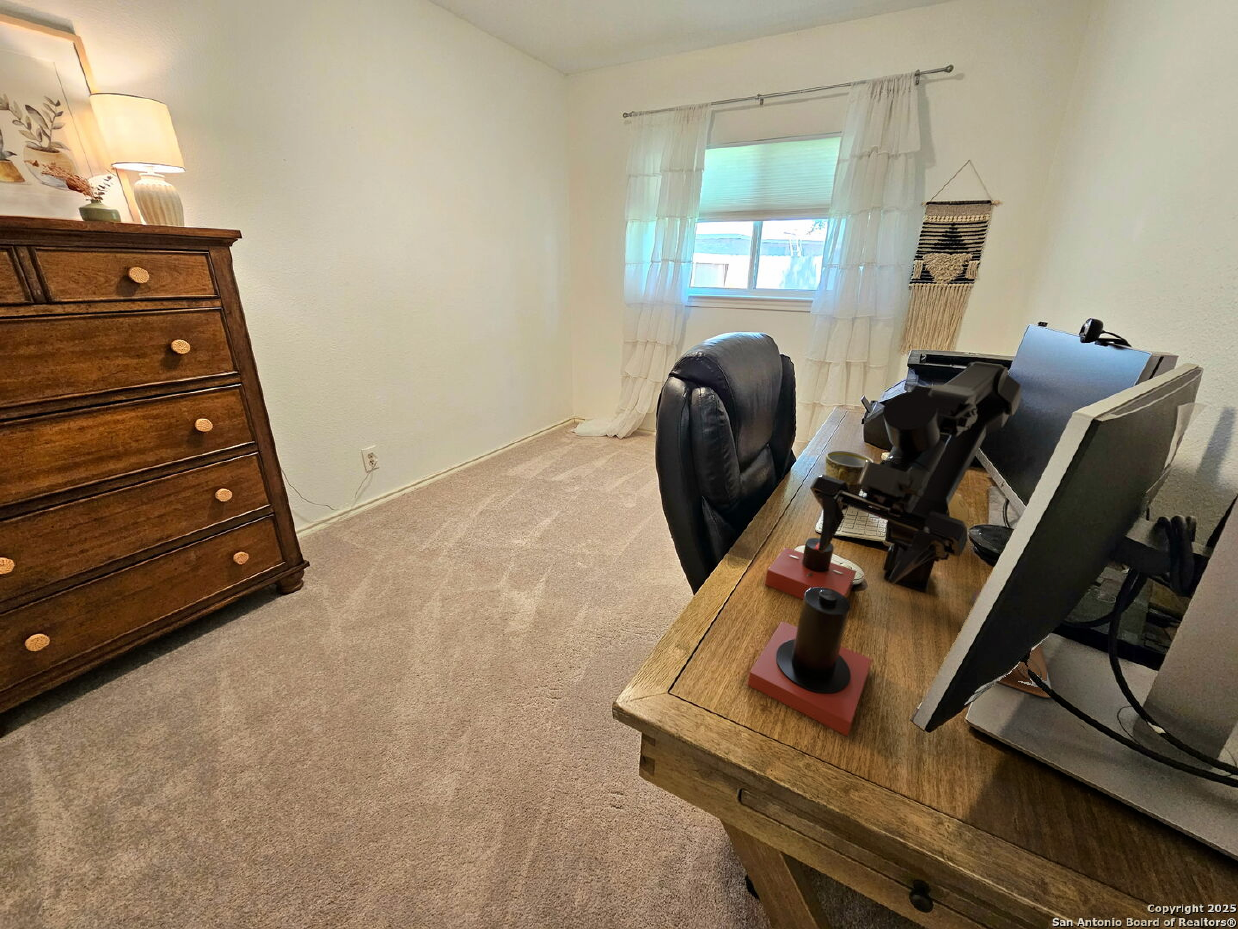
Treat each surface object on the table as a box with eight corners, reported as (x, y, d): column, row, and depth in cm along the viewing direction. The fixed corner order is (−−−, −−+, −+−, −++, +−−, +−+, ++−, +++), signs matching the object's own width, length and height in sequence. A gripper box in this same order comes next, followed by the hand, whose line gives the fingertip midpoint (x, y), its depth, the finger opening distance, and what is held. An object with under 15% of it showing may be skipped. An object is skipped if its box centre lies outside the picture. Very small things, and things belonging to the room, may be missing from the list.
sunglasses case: (1060, 701, 60) (1041, 654, 59) (991, 700, 64) (973, 657, 63) (1035, 619, 74) (1020, 580, 73) (981, 623, 78) (966, 586, 78)
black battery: (838, 661, 62) (856, 592, 58) (828, 686, 58) (846, 615, 54) (798, 643, 65) (812, 576, 61) (785, 666, 61) (799, 597, 57)
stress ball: (893, 525, 102) (905, 482, 98) (928, 518, 105) (940, 476, 101) (936, 549, 93) (951, 503, 89) (972, 541, 96) (988, 496, 92)
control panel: (855, 580, 83) (859, 565, 82) (839, 613, 75) (843, 597, 74) (786, 556, 89) (788, 542, 88) (764, 584, 81) (767, 568, 80)
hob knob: (806, 554, 85) (810, 533, 83) (832, 563, 82) (837, 541, 81) (798, 566, 81) (802, 544, 80) (825, 575, 79) (830, 553, 77)
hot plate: (868, 671, 64) (872, 657, 63) (847, 736, 55) (851, 720, 54) (779, 633, 71) (782, 619, 70) (747, 685, 62) (750, 670, 61)
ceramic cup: (824, 485, 120) (832, 447, 116) (868, 496, 114) (877, 457, 110) (809, 504, 110) (817, 463, 106) (856, 517, 104) (866, 475, 101)
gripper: (828, 420, 66) (772, 515, 64) (989, 460, 53) (926, 581, 51) (844, 459, 74) (795, 545, 72) (988, 502, 61) (933, 609, 59)
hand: (853, 566), depth 63 cm, fingers open, 9 cm apart
